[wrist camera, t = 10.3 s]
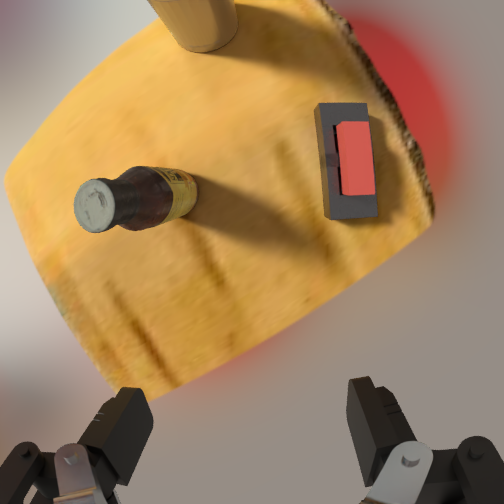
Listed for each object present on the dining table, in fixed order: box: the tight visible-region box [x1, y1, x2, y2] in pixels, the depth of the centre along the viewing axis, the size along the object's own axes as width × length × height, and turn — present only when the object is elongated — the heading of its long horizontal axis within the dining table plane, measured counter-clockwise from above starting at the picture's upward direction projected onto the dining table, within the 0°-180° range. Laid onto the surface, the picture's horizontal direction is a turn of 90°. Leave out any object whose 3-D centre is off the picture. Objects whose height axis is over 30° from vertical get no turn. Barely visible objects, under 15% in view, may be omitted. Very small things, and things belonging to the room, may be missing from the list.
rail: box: [314, 103, 378, 220], centre depth 35 cm, size 14×6×4 cm, turn 6°
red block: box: [334, 121, 375, 195], centre depth 33 cm, size 8×3×7 cm, turn 5°
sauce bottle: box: [74, 166, 199, 233], centre depth 29 cm, size 7×6×20 cm
